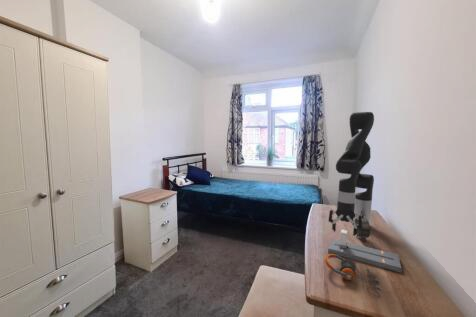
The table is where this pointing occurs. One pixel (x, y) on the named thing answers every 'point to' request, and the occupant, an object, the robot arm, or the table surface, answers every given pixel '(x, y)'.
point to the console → (366, 255)
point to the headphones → (349, 270)
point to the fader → (343, 239)
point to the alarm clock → (363, 228)
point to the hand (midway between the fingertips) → (344, 233)
